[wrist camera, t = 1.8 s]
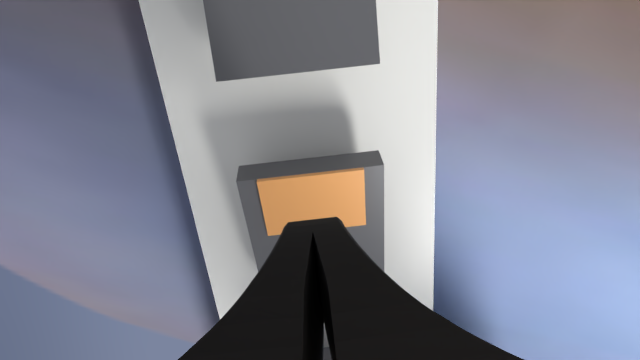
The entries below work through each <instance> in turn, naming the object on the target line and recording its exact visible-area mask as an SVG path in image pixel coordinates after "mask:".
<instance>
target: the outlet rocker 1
mask: <svg viewBox="0 0 640 360" xmlns="http://www.w3.org/2000/svg"><path fill="white" fill-rule="evenodd" d="M203 4H204V10H205V16H206V23H207V29H208V35H209V41H210V47H211V53H212V59H213V65H214V72H215V78H216V82H220V81H230V80H239V79H248V78H258V77H267V76H276V75H285V74H294V73H303V72H312V71H321V70H330V69H339V68H348V67H357V66H366V65H375V64H380V54H379V39H378V25H377V10H376V0H203Z"/></svg>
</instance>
